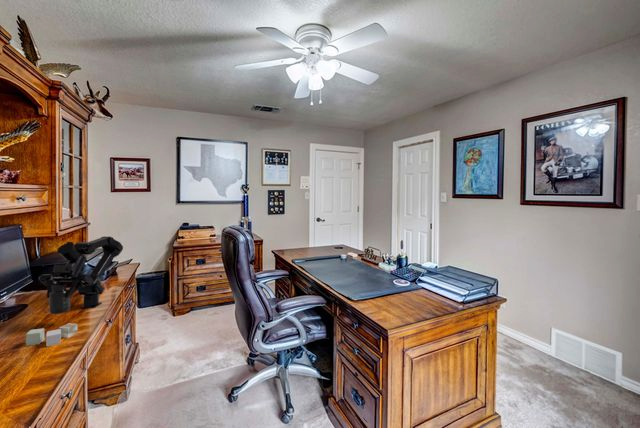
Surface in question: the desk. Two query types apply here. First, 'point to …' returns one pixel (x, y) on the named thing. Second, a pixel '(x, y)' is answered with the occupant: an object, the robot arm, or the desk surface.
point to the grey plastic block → (53, 337)
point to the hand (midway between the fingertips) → (57, 297)
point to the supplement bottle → (59, 299)
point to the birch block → (68, 330)
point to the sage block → (34, 337)
